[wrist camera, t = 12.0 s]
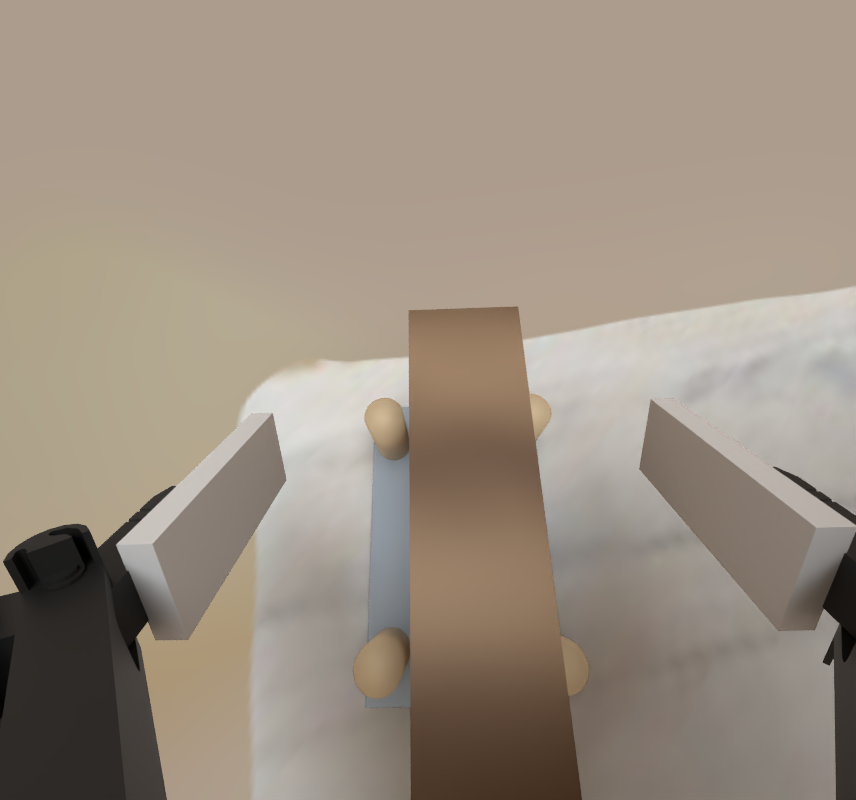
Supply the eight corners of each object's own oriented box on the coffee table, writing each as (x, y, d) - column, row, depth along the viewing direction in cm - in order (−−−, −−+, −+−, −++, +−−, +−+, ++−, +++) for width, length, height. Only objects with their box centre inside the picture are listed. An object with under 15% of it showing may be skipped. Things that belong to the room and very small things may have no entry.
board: (507, 683, 21) (582, 806, 10) (427, 684, 21) (410, 809, 10) (485, 420, 26) (517, 306, 15) (422, 422, 26) (408, 310, 15)
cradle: (560, 696, 22) (606, 742, 16) (370, 699, 22) (343, 746, 16) (526, 411, 28) (549, 367, 22) (378, 416, 28) (361, 373, 22)
